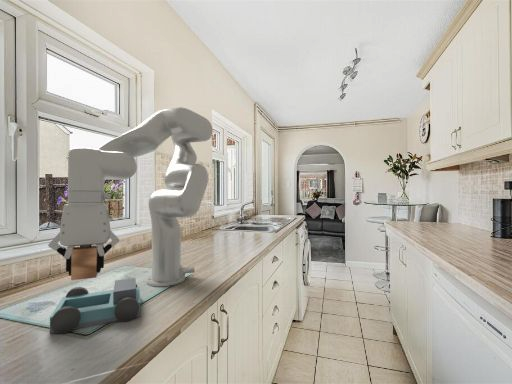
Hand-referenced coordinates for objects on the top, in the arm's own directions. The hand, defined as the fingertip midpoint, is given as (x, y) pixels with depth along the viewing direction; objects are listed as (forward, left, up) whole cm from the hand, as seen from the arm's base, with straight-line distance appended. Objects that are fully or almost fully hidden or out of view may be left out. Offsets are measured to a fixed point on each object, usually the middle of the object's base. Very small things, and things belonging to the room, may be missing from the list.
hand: (85, 271), depth 64 cm
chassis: (-3, 0, -11) cm, 11 cm away
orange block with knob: (0, 0, -1) cm, 1 cm away
